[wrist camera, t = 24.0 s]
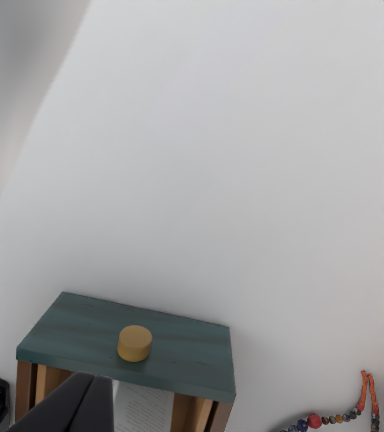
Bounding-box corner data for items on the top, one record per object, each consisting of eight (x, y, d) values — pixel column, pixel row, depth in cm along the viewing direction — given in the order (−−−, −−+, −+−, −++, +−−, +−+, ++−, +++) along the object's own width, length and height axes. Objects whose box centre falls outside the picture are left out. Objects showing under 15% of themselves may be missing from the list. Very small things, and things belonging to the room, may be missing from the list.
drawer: (63, 278, 21) (16, 331, 16) (233, 314, 21) (241, 378, 16) (51, 408, 25) (9, 486, 19) (195, 438, 25) (192, 523, 20)
